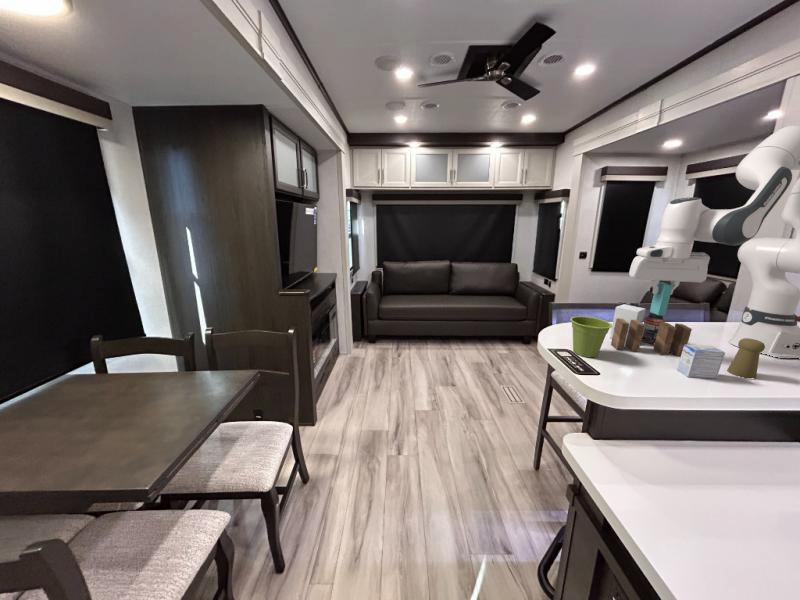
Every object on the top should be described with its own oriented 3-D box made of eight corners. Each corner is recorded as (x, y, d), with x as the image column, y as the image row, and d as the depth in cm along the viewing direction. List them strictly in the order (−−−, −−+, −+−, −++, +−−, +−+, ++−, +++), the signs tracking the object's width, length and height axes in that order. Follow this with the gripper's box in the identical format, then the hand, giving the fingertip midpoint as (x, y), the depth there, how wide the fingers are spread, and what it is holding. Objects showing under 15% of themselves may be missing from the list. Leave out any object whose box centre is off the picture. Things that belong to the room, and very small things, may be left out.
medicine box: (704, 372, 95) (712, 345, 93) (717, 379, 91) (726, 351, 88) (676, 370, 96) (683, 343, 93) (687, 377, 91) (695, 350, 89)
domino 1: (616, 345, 113) (622, 318, 111) (623, 350, 109) (629, 323, 106) (610, 344, 114) (616, 318, 111) (616, 350, 109) (622, 322, 106)
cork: (750, 380, 91) (763, 345, 88) (722, 371, 96) (734, 337, 93) (760, 376, 93) (772, 342, 90) (732, 367, 98) (744, 334, 95)
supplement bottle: (647, 337, 122) (654, 309, 119) (663, 343, 116) (671, 314, 113) (635, 338, 120) (642, 310, 117) (651, 344, 114) (659, 315, 111)
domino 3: (656, 311, 107) (663, 282, 104) (665, 315, 102) (672, 285, 100) (649, 310, 108) (656, 282, 105) (658, 315, 103) (665, 285, 100)
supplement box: (639, 340, 118) (647, 308, 115) (630, 344, 114) (638, 311, 111) (617, 334, 124) (624, 303, 121) (608, 338, 120) (615, 306, 116)
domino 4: (659, 349, 111) (667, 322, 108) (668, 355, 106) (675, 327, 103) (653, 348, 111) (660, 322, 108) (661, 354, 106) (668, 326, 104)
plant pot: (598, 348, 110) (605, 318, 107) (610, 363, 99) (618, 329, 96) (561, 344, 113) (566, 314, 110) (569, 358, 102) (575, 325, 99)
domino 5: (674, 351, 110) (682, 323, 107) (683, 357, 105) (691, 329, 102) (668, 350, 110) (675, 323, 107) (676, 356, 105) (684, 328, 103)
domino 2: (631, 346, 112) (637, 320, 110) (637, 352, 108) (644, 324, 105) (624, 345, 113) (630, 319, 110) (631, 351, 108) (638, 324, 105)
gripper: (704, 251, 100) (692, 293, 104) (631, 249, 104) (623, 289, 108) (718, 254, 94) (705, 298, 98) (641, 251, 99) (631, 294, 102)
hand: (661, 293), depth 103 cm, fingers closed on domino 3, 2 cm apart
